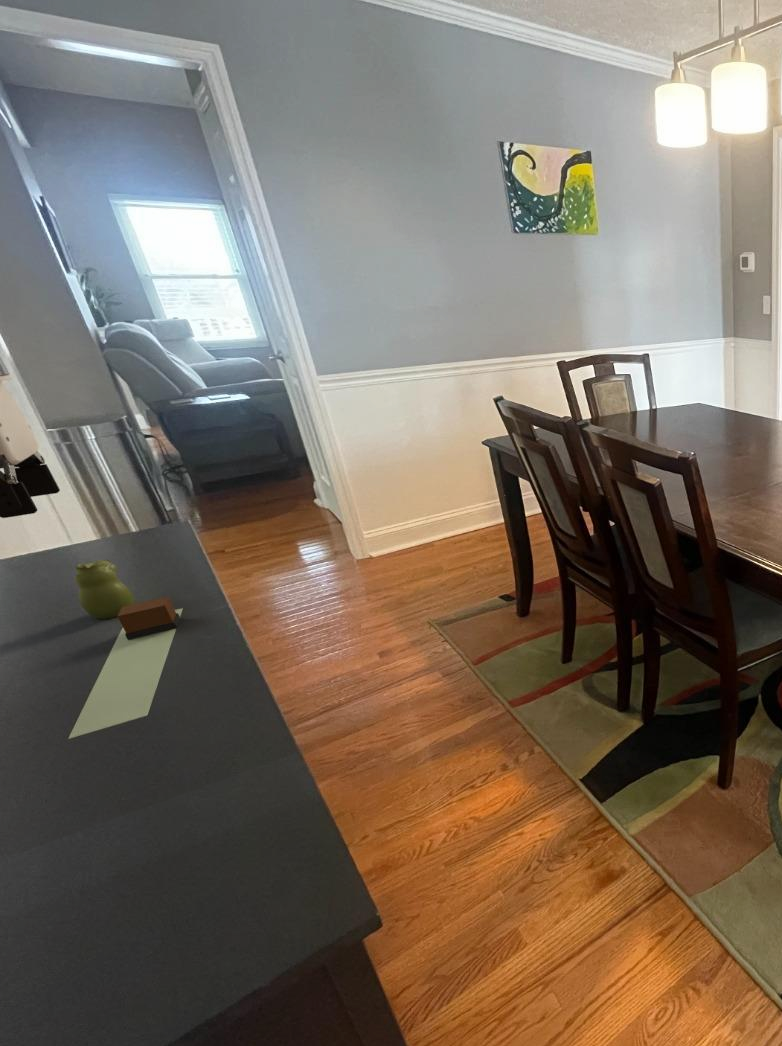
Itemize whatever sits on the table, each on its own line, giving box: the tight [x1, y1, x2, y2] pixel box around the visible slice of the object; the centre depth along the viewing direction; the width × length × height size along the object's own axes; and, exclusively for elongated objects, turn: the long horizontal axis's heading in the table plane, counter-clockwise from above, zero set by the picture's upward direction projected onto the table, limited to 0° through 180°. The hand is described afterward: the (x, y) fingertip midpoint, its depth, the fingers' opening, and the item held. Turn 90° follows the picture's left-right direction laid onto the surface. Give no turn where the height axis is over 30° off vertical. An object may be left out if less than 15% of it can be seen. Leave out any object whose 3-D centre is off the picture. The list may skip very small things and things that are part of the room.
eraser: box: [117, 596, 181, 640], centre depth 89 cm, size 6×4×4 cm, turn 125°
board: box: [68, 607, 184, 740], centre depth 82 cm, size 7×32×1 cm, turn 35°
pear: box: [74, 559, 135, 620], centre depth 93 cm, size 6×5×10 cm
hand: (32, 504), depth 78 cm, fingers open, 9 cm apart
